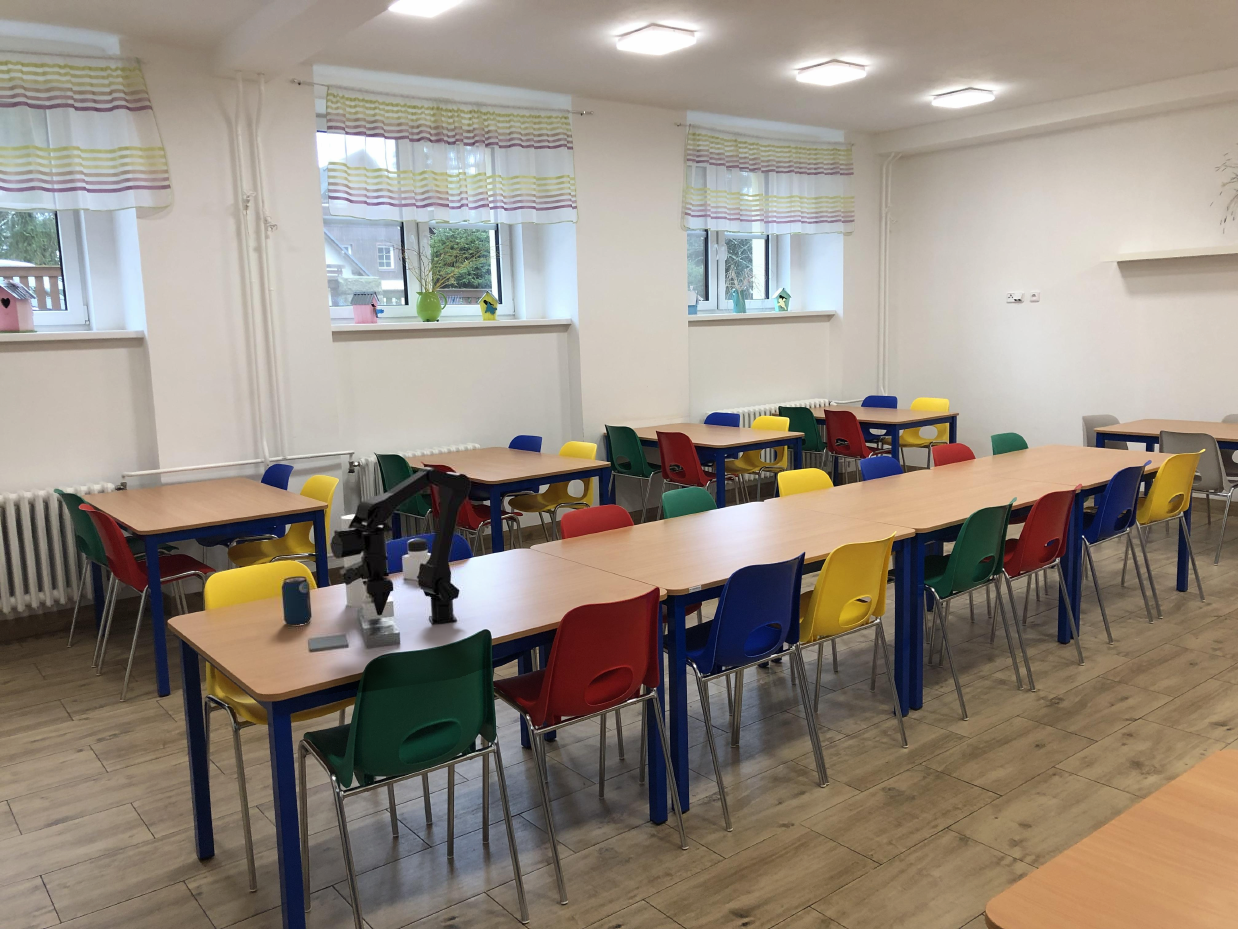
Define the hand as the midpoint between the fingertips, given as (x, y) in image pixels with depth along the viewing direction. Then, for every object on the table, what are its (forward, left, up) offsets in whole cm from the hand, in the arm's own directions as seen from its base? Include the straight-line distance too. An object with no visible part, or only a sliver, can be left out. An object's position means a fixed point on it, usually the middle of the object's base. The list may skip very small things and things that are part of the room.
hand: (378, 612), depth 239 cm
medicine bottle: (-58, +18, -7) cm, 61 cm away
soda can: (-22, -19, -7) cm, 30 cm away
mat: (0, -12, -6) cm, 14 cm away
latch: (-14, 0, +1) cm, 14 cm away
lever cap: (0, 0, -1) cm, 1 cm away
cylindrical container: (-35, -2, -7) cm, 36 cm away
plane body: (-5, 0, -6) cm, 8 cm away
